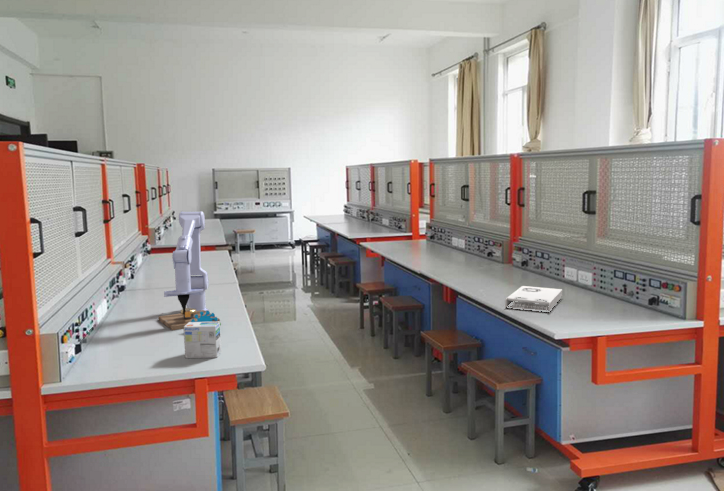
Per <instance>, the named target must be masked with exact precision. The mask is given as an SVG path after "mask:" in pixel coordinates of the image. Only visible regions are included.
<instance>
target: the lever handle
mask: <svg viewBox="0 0 724 491" xmlns="http://www.w3.org/2000/svg"><path fill="white" fill-rule="evenodd" d="M185 310H186V311H185V314H183V308H181V309H180V313H181V314H183V315H185V317H190V316H191V314H194V313H196V309H194V308H187V307H186V309H185Z"/></svg>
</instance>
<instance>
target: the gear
mask: <svg viewBox="0 0 724 491" xmlns="http://www.w3.org/2000/svg"><path fill="white" fill-rule="evenodd" d="M203 314H204V313H203V312H200V315H201V316H200V318H198V315H197V314H196V315H195V318H196V319H197V321H195V320H194V319H192V320H191V322H213V321H212V320H215V321H217V320H218V319H217V318H218V316H215V313H214V312H212V313H210V310H209V311H206V314H205V315H204V316H202V315H203ZM209 314H211V315H209ZM207 315H209V316H207ZM214 316H215V318H210V317H214ZM221 325H222V324H221V322H220V326H221Z"/></svg>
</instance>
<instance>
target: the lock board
mask: <svg viewBox="0 0 724 491" xmlns="http://www.w3.org/2000/svg"><path fill="white" fill-rule="evenodd" d="M200 312H203V313H204V314H203V315H202V316H204V315H205V314H206V311H204V310H200V311H196V313H194V314H191V316H190V317H185V315H183V314H181V312H180V313H176V314H175V313H174V314H167V315H161V316H158V317H157V318H158V321H159V322H160V323H162V324H163V325H164V326H165V327H167V328H168V329H170V330H171V331H176V330H184V326H185V325H186V324H187V323H189V322H191V320H192V319H194V320H195V321H197V319H196V318H195V315H196V314H197V315H198V318H200V316H201V315H200ZM211 314H212V313H210V314H209V315H211ZM209 315H207V316H209ZM215 317H216V316H214V317H210V318H215ZM217 319H218V320H217V321H220V318H219V317H217ZM212 321H213V322H217V321H215V320H212ZM220 322H221V321H220Z"/></svg>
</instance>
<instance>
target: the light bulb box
mask: <svg viewBox="0 0 724 491" xmlns="http://www.w3.org/2000/svg"><path fill="white" fill-rule="evenodd" d="M220 323H221V321H217V322H189V323H187V324H186V325H185V326H184V329H183V341H184V343H183V344H184V358H185V359H199V358H200V359H203V358H204V359H205V358H206V359H207V358H209V359H210V358H211V359H212V358H213V359H214V358H218V357H219V355H220V354H221V352H222V339H221V325H220Z"/></svg>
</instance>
